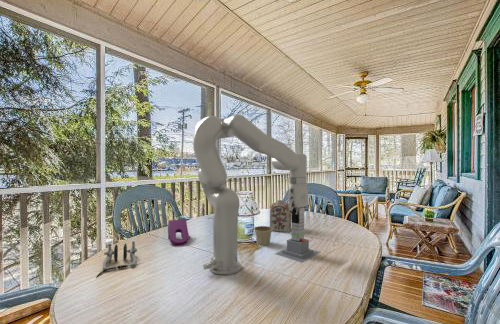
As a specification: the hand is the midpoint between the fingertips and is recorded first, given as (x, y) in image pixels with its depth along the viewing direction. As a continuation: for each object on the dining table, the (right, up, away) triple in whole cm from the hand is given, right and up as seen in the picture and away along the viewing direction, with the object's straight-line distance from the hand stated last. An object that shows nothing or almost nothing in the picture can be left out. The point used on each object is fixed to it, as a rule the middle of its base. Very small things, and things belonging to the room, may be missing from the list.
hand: (297, 221), depth 115 cm
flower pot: (-15, -15, +13) cm, 25 cm away
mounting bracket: (-60, -15, +22) cm, 65 cm away
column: (0, -8, 0) cm, 8 cm away
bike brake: (-75, -16, -11) cm, 77 cm away
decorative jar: (-2, -15, +44) cm, 47 cm away
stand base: (0, -15, 0) cm, 15 cm away
